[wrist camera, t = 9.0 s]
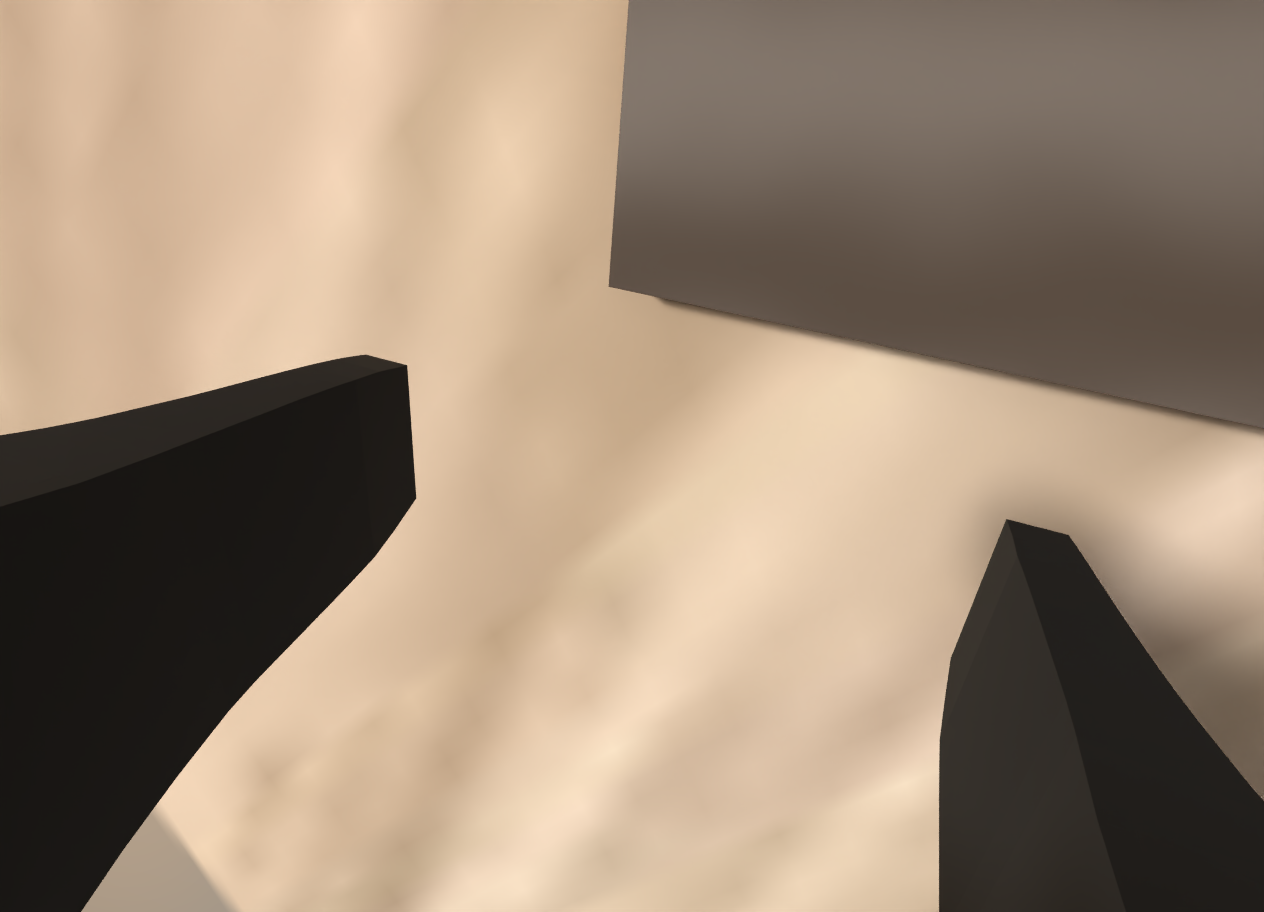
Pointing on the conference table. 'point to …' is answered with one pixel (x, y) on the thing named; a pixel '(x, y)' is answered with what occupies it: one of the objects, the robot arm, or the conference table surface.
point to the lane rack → (962, 182)
